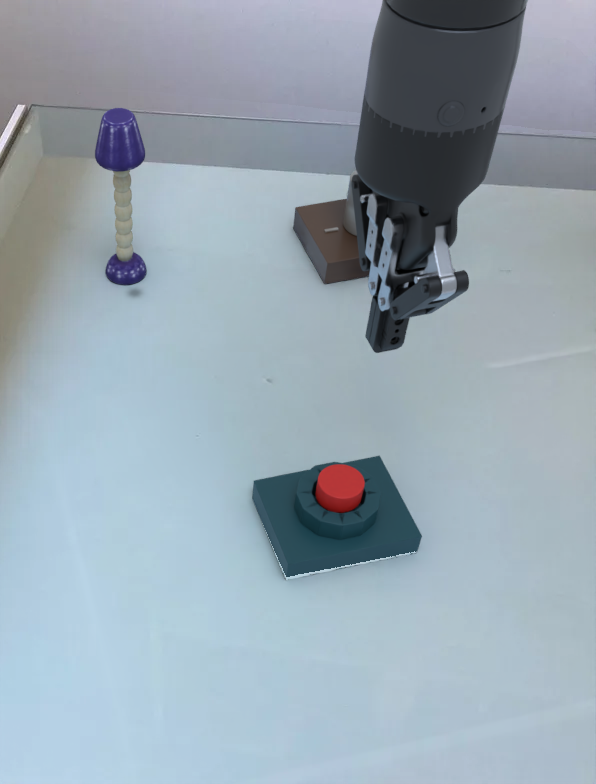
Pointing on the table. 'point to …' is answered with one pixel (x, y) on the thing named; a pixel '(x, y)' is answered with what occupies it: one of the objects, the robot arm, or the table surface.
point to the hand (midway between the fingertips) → (383, 343)
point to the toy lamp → (121, 188)
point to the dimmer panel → (328, 241)
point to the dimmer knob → (350, 210)
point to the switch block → (334, 520)
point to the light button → (339, 488)
